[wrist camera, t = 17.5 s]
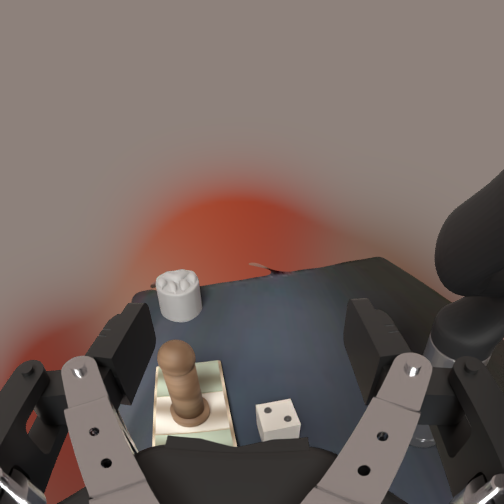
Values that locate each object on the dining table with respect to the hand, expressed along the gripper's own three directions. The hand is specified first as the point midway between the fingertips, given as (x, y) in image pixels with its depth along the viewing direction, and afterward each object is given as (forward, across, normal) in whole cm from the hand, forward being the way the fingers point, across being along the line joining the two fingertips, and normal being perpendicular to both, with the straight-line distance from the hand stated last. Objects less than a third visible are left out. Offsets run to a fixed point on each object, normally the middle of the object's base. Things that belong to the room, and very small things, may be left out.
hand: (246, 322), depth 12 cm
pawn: (+19, +10, +30) cm, 37 cm away
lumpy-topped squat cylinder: (+53, +19, +32) cm, 65 cm away
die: (+16, -2, +32) cm, 36 cm away
